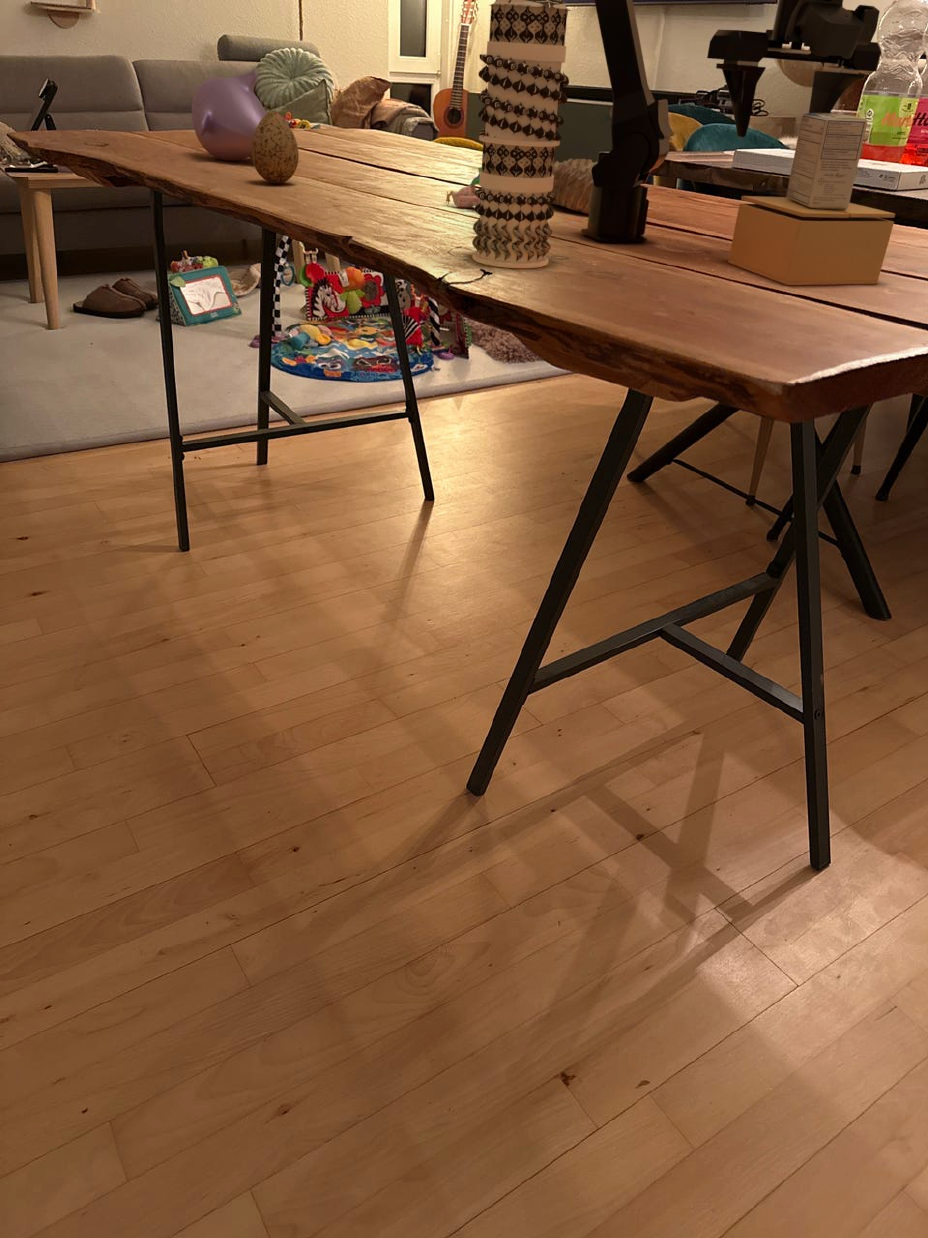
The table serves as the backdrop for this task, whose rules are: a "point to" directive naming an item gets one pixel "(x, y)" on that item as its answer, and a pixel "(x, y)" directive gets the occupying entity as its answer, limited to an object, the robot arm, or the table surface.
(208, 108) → the toy whale
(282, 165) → the decorative egg
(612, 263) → the table surface
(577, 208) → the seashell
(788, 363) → the table surface
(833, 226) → the carton
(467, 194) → the pink radish
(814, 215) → the flap
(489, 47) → the bracelet display stand
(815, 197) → the medicine box
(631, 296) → the table surface
